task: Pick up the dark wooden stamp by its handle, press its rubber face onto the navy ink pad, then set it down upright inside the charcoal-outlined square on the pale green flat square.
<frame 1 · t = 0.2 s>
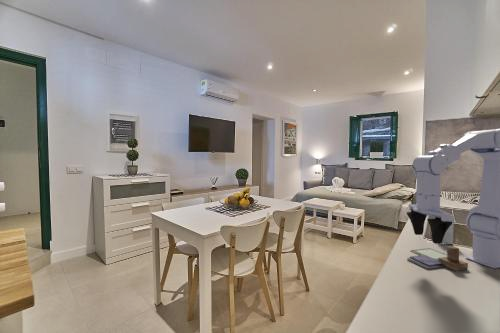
hand: (427, 238, 70), 10 cm above the counter, tool pointing down, fingers open, 7 cm apart
pale green flat square: (432, 254, 82), on the counter
ink pad: (425, 263, 75), on the counter
stamp: (452, 267, 73), on the counter
skincare box: (442, 242, 95), on the counter
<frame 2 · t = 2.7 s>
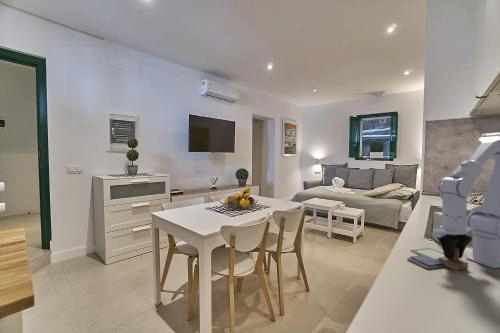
hand: (453, 257, 73), 3 cm above the counter, tool pointing down, fingers closed on stamp, 3 cm apart
stamp: (452, 267, 73), on the counter, touching gripper
everything else where it was.
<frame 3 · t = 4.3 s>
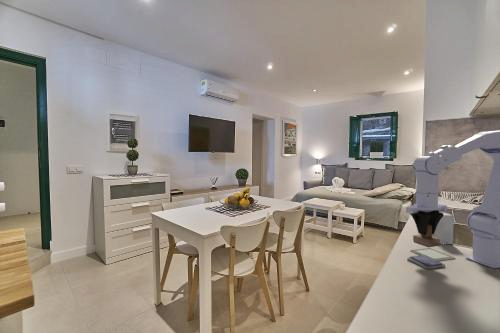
hand: (426, 233, 75), 10 cm above the counter, tool pointing down, fingers closed on stamp, 3 cm apart
stamp: (426, 243, 75), point 7 cm above the counter, touching gripper
everything else where it was.
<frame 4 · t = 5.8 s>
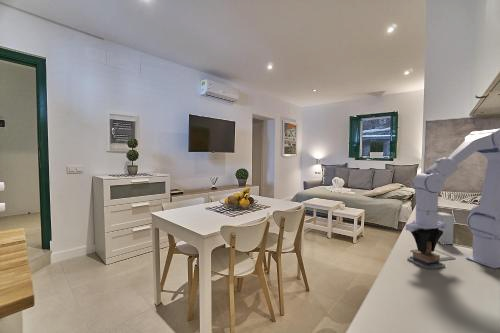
hand: (425, 251, 75), 4 cm above the counter, tool pointing down, fingers closed on stamp, 3 cm apart
stamp: (425, 259, 75), point 1 cm above the counter, touching gripper, ink pad
everything else where it was.
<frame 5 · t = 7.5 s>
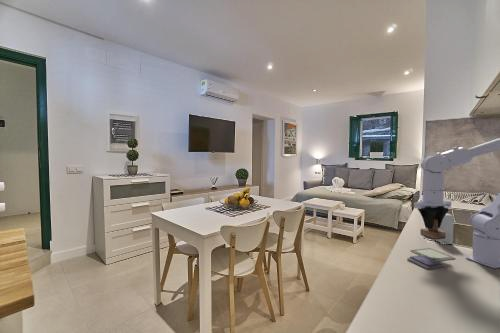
hand: (432, 227, 82), 10 cm above the counter, tool pointing down, fingers closed on stamp, 3 cm apart
stamp: (432, 236, 82), point 7 cm above the counter, touching gripper
everything else where it was.
when the fingers open (4 cm above the counter, at t = 9.2 s): stamp stays where it is, resting on pale green flat square.
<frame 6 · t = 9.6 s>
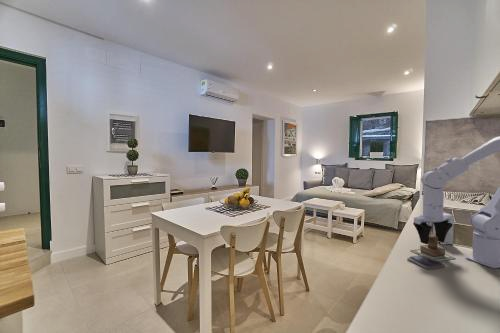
hand: (432, 242, 82), 5 cm above the counter, tool pointing down, fingers open, 7 cm apart
stamp: (432, 253, 82), resting on pale green flat square
everything else where it was.
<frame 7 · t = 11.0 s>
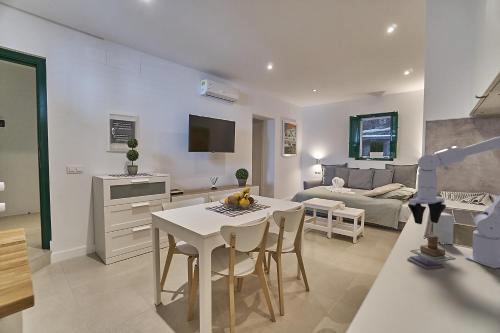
hand: (426, 222, 86), 10 cm above the counter, tool pointing down, fingers open, 7 cm apart
nothing on the counter moved.
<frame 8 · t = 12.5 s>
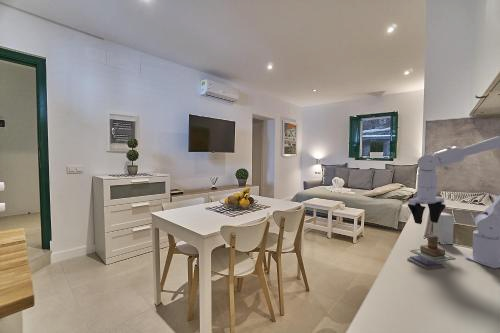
hand: (426, 222, 86), 10 cm above the counter, tool pointing down, fingers open, 7 cm apart
nothing on the counter moved.
at the end: stamp 0.1 cm from the pale green flat square (horizontally); stamp tilted 0°; the gripper is holding nothing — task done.
